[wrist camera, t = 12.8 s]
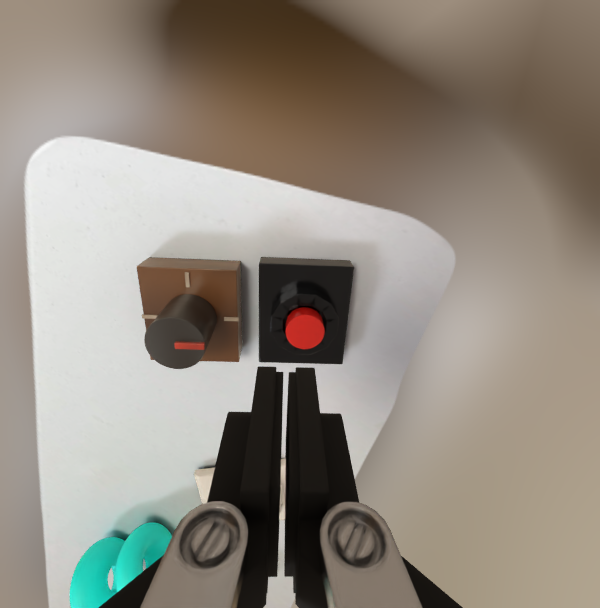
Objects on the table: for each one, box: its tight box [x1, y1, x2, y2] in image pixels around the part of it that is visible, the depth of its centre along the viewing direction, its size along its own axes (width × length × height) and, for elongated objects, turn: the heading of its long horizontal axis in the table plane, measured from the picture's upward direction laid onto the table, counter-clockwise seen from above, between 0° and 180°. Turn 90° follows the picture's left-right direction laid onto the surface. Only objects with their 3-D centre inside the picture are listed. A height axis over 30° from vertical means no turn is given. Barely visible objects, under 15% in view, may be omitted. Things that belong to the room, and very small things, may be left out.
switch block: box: [259, 257, 354, 364], centre depth 34 cm, size 11×9×4 cm
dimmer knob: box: [145, 294, 217, 369], centre depth 30 cm, size 5×5×5 cm
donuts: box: [70, 522, 172, 608], centre depth 46 cm, size 10×10×10 cm
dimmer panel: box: [137, 257, 242, 362], centre depth 34 cm, size 10×9×3 cm
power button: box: [286, 307, 325, 349], centre depth 32 cm, size 4×4×2 cm
